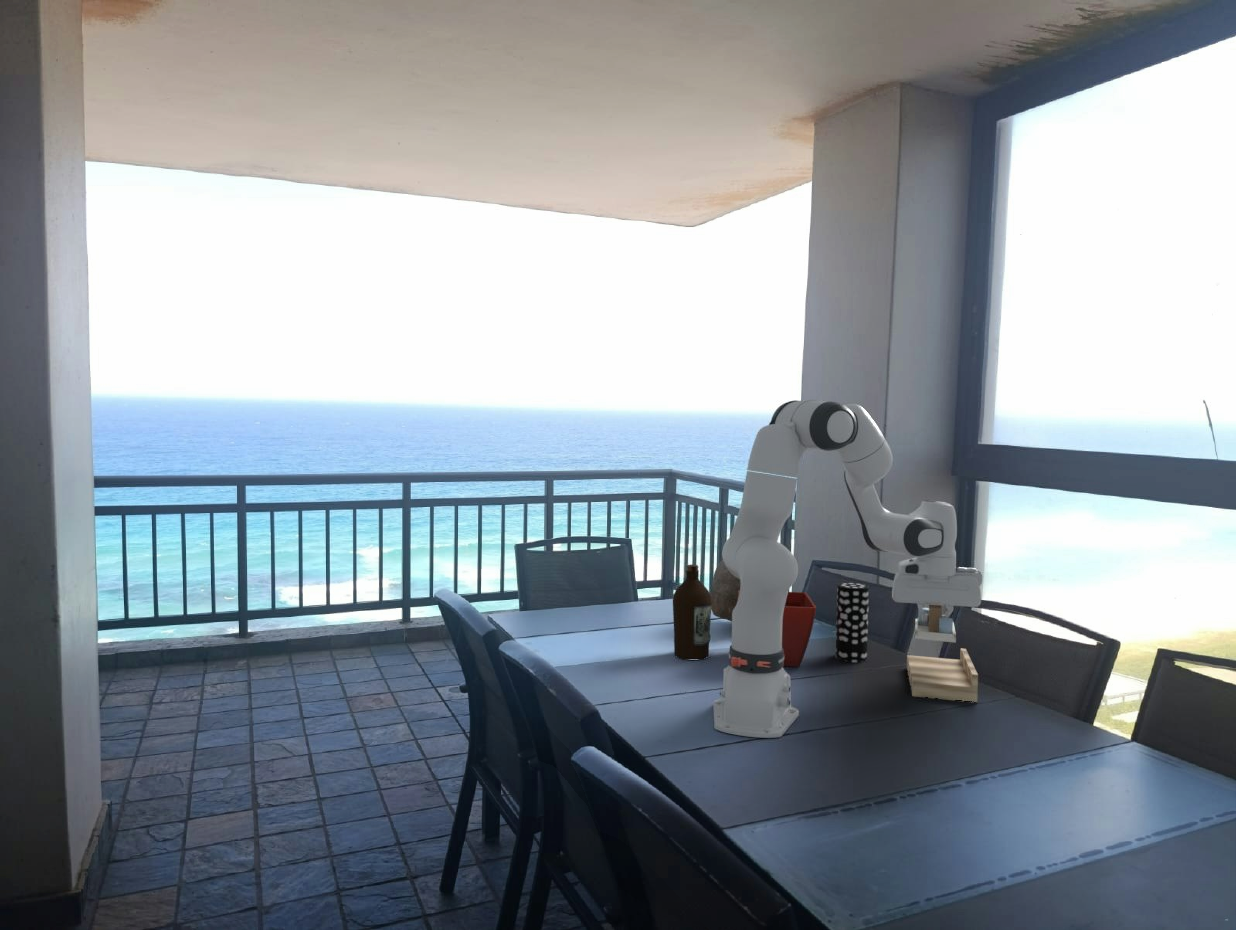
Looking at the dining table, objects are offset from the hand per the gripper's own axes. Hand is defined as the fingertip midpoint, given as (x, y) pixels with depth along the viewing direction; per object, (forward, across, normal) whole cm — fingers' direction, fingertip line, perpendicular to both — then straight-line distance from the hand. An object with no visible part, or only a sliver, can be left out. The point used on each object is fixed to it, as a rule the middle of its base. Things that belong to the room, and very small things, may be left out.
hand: (935, 621), depth 192 cm
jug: (+15, +51, -38) cm, 65 cm away
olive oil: (+15, +62, -5) cm, 64 cm away
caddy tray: (+3, 0, 0) cm, 3 cm away
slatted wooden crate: (+15, -1, 0) cm, 15 cm away
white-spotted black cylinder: (+16, +19, -16) cm, 30 cm away
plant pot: (+15, +39, -9) cm, 43 cm away
